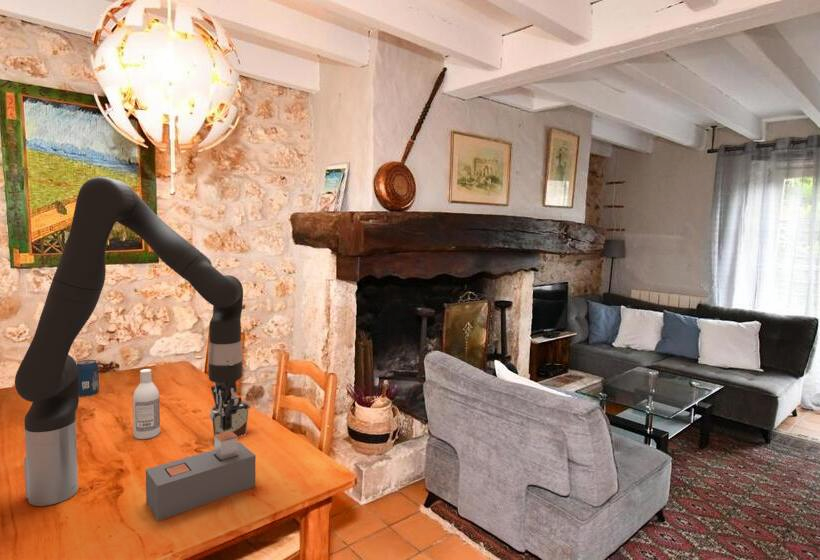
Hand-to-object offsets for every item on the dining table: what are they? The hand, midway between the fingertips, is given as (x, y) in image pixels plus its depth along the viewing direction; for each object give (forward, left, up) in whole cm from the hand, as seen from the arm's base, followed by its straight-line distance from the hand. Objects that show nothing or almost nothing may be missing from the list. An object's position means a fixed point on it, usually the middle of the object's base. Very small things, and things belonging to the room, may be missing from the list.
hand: (226, 428), depth 114 cm
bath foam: (-40, +15, -15) cm, 45 cm away
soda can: (-86, +33, -15) cm, 93 cm away
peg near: (-6, -10, -15) cm, 18 cm away
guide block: (-3, -5, -15) cm, 16 cm away
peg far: (0, 0, -10) cm, 10 cm away
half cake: (-18, +23, -15) cm, 32 cm away
